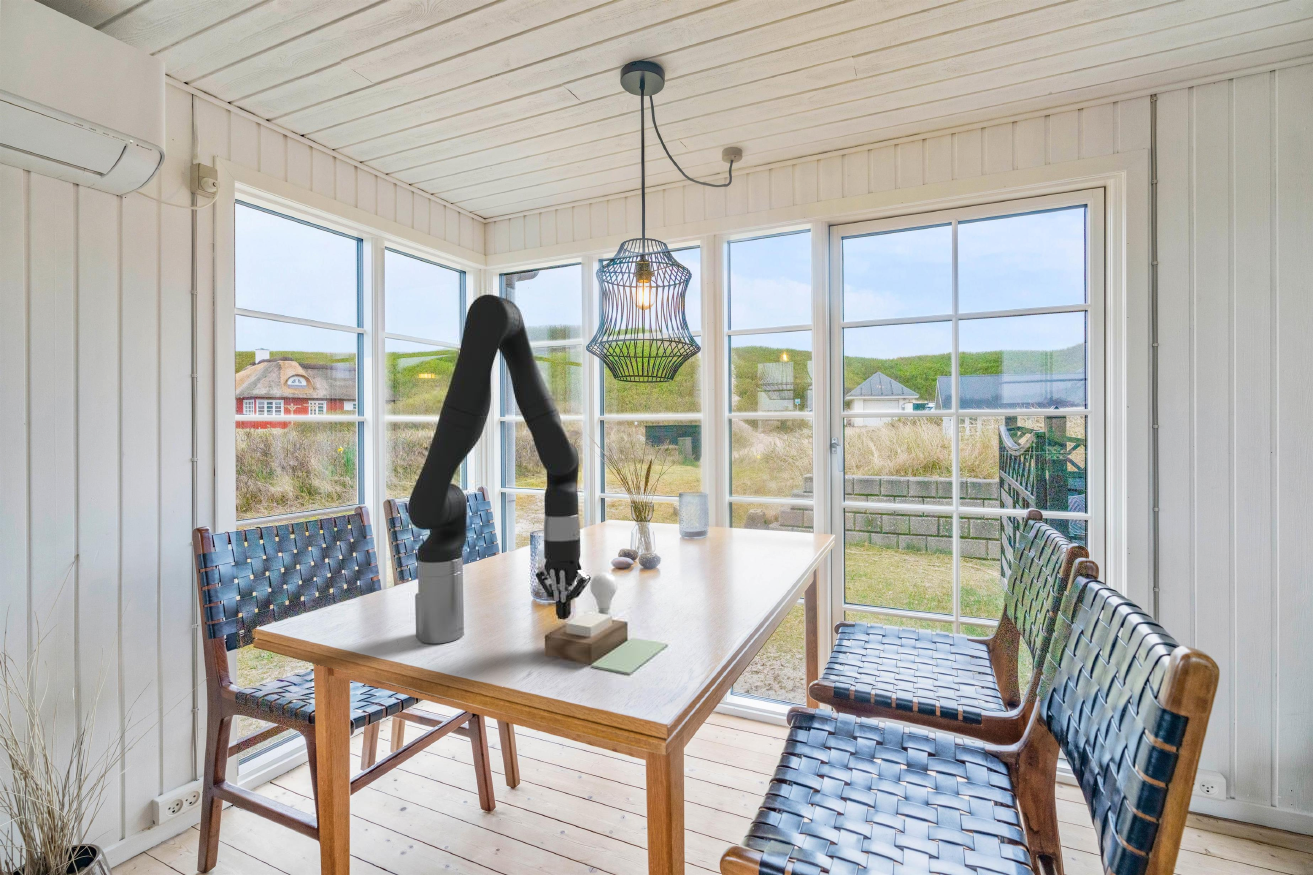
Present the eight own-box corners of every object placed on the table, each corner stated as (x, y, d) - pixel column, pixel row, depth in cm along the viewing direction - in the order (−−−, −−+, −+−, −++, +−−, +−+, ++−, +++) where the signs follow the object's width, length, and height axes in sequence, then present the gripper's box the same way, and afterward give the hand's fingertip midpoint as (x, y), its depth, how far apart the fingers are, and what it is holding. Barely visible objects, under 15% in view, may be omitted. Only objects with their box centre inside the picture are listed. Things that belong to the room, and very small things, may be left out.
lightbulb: (623, 618, 142) (622, 572, 142) (603, 625, 137) (602, 577, 137) (605, 613, 146) (604, 568, 146) (585, 619, 142) (584, 572, 142)
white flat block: (565, 632, 121) (565, 622, 121) (587, 620, 128) (587, 611, 128) (591, 637, 119) (590, 627, 119) (612, 624, 126) (611, 615, 126)
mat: (590, 666, 114) (590, 664, 114) (632, 639, 128) (632, 637, 128) (630, 674, 110) (630, 672, 110) (668, 645, 124) (668, 643, 124)
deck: (545, 655, 120) (544, 635, 120) (584, 632, 133) (583, 614, 132) (591, 664, 115) (591, 643, 115) (627, 640, 128) (627, 621, 128)
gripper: (525, 536, 126) (527, 619, 126) (578, 541, 120) (579, 628, 120) (547, 531, 132) (548, 609, 133) (598, 535, 126) (599, 617, 127)
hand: (563, 618), depth 126 cm, fingers closed
